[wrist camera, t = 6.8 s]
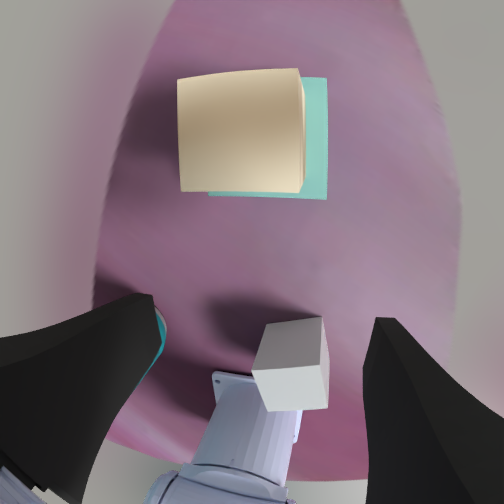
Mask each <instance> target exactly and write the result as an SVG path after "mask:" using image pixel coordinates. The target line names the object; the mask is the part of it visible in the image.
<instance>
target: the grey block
mask: <svg viewBox="0 0 504 504" xmlns="http://www.w3.org/2000/svg"><path fill="white" fill-rule="evenodd" d="M329 360H330V359H329V353H328V347H327V341H326V336H325V330H324V325H323V319H322V317H315V318H308V319H301V320H294V321H286V322H278V323H270V324H266V328H265V331H264V334H263V337H262V340H261V343H260V346H259V349H258V352H257V355H256V358H255V361H254V364H253V367H252V370H251V371H252V374H253V376H254V379H255V381H256V384H257V386H258V389H259V392H260V394H261V397H262V399H263V402H264V404H265V407H266V409H267V411H268V412H272V411H297V410H312V409H323V408H328V393H329Z"/></svg>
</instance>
